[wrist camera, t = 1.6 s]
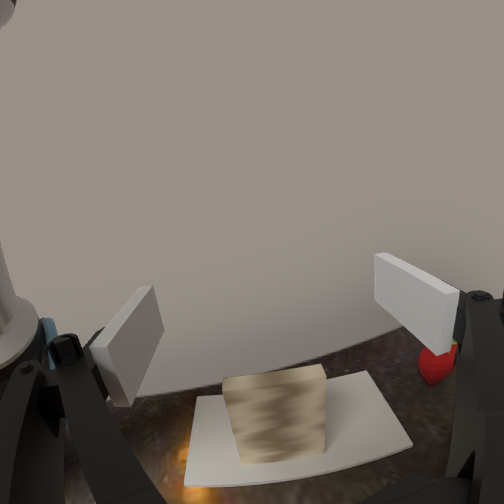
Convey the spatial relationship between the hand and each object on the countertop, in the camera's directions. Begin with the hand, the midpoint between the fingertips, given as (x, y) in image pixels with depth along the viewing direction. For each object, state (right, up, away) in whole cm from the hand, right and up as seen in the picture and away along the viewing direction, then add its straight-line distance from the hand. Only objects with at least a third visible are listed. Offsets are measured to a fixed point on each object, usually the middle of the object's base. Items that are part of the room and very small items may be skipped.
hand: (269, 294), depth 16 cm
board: (+3, -23, +15) cm, 27 cm away
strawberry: (+27, -19, +21) cm, 39 cm away
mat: (+5, -22, +20) cm, 30 cm away
